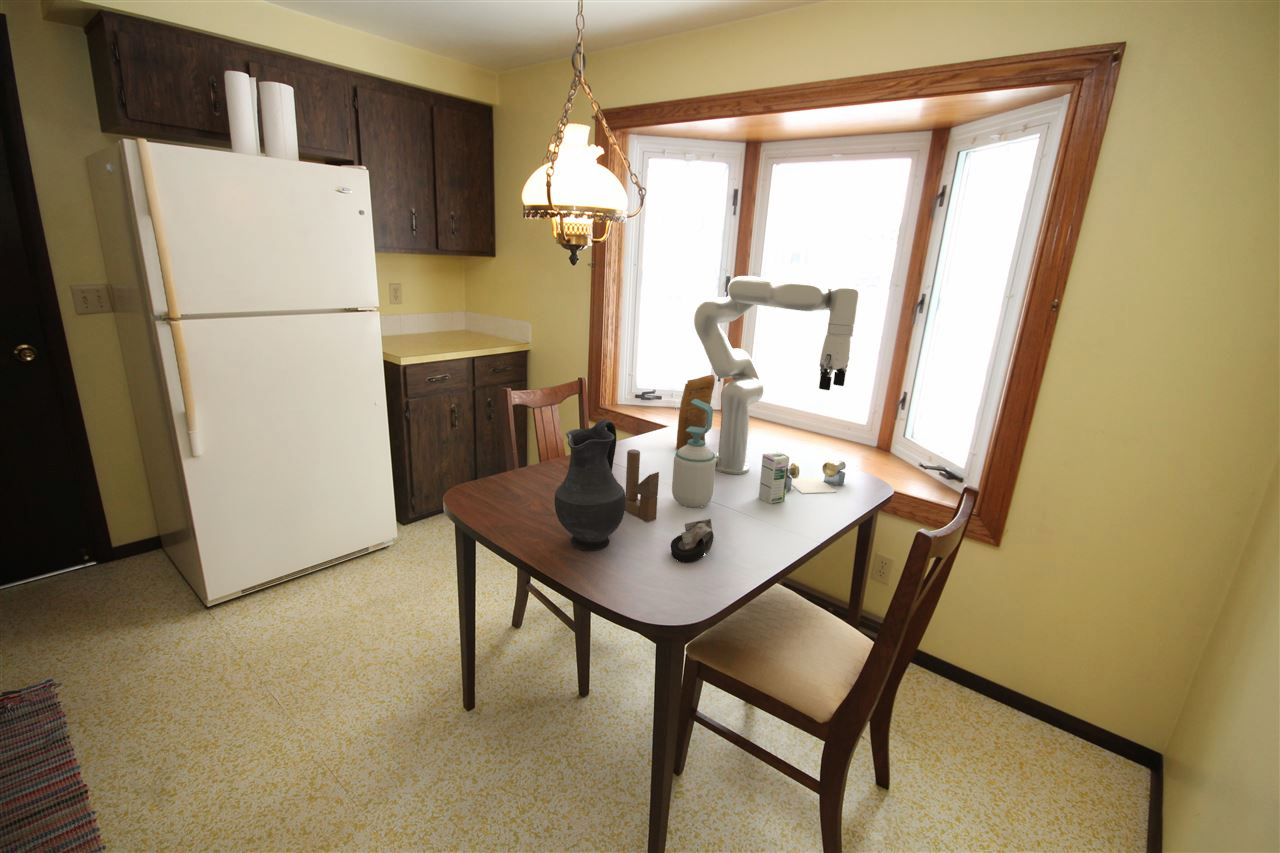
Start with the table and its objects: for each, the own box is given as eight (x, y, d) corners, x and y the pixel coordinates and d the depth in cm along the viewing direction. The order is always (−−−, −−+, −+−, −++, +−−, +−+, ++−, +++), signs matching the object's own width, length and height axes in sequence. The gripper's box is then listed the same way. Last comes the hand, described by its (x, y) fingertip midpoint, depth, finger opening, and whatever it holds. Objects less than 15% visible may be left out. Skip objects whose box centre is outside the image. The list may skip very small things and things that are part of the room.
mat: (801, 493, 176) (802, 493, 176) (785, 479, 187) (785, 478, 187) (836, 492, 178) (836, 491, 178) (818, 478, 190) (818, 477, 189)
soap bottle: (678, 490, 174) (684, 394, 165) (716, 498, 170) (725, 399, 161) (665, 505, 163) (672, 402, 154) (706, 513, 159) (715, 408, 150)
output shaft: (833, 487, 182) (837, 464, 180) (820, 482, 186) (823, 460, 183) (846, 482, 187) (849, 460, 185) (832, 478, 191) (835, 456, 188)
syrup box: (770, 504, 167) (775, 459, 163) (757, 497, 172) (762, 452, 168) (784, 501, 170) (790, 456, 166) (771, 494, 175) (777, 450, 170)
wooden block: (647, 523, 151) (650, 461, 146) (621, 509, 159) (623, 450, 154) (656, 519, 154) (660, 458, 149) (631, 506, 161) (633, 447, 156)
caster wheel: (675, 572, 132) (669, 546, 141) (721, 564, 133) (712, 538, 142) (671, 550, 129) (666, 525, 138) (719, 542, 130) (710, 517, 139)
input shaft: (774, 490, 178) (777, 467, 175) (768, 484, 182) (770, 461, 180) (797, 489, 179) (800, 466, 177) (790, 483, 184) (793, 460, 182)
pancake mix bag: (715, 444, 221) (721, 375, 213) (681, 453, 209) (686, 380, 201) (702, 440, 226) (708, 372, 218) (669, 448, 213) (673, 377, 206)
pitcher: (542, 549, 135) (541, 431, 127) (581, 515, 154) (583, 411, 145) (606, 565, 129) (610, 443, 121) (639, 528, 148) (644, 420, 139)
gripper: (839, 327, 171) (832, 381, 176) (814, 330, 159) (806, 388, 164) (863, 330, 166) (855, 385, 171) (839, 333, 154) (830, 393, 159)
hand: (831, 387), depth 167 cm, fingers open, 9 cm apart
